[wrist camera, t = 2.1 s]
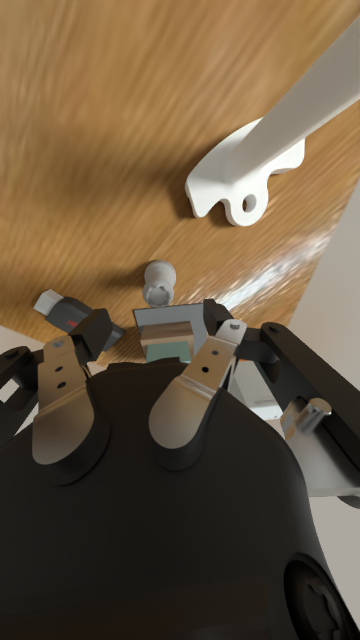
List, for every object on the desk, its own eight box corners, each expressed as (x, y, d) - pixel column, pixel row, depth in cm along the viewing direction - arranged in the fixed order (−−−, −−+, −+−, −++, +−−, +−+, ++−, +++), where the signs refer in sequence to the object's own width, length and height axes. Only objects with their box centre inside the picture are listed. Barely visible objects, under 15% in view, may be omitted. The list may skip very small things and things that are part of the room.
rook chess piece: (158, 295, 22) (155, 324, 16) (138, 272, 20) (124, 293, 14) (182, 278, 21) (189, 301, 15) (163, 252, 19) (161, 264, 12)
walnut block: (143, 325, 25) (140, 340, 21) (190, 320, 25) (193, 334, 22) (151, 357, 29) (149, 374, 26) (191, 353, 29) (194, 369, 26)
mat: (134, 309, 23) (133, 310, 23) (207, 302, 24) (207, 303, 23) (149, 366, 31) (149, 368, 31) (204, 360, 31) (205, 362, 31)
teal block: (148, 344, 22) (144, 365, 18) (187, 340, 22) (191, 360, 19) (154, 370, 25) (152, 392, 22) (188, 366, 25) (192, 387, 22)
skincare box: (248, 345, 30) (290, 405, 20) (244, 360, 32) (279, 419, 22) (219, 347, 30) (247, 409, 20) (217, 362, 32) (241, 423, 22)
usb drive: (109, 345, 28) (104, 356, 25) (40, 306, 22) (26, 315, 20) (126, 329, 26) (122, 339, 24) (55, 283, 21) (40, 290, 18)
